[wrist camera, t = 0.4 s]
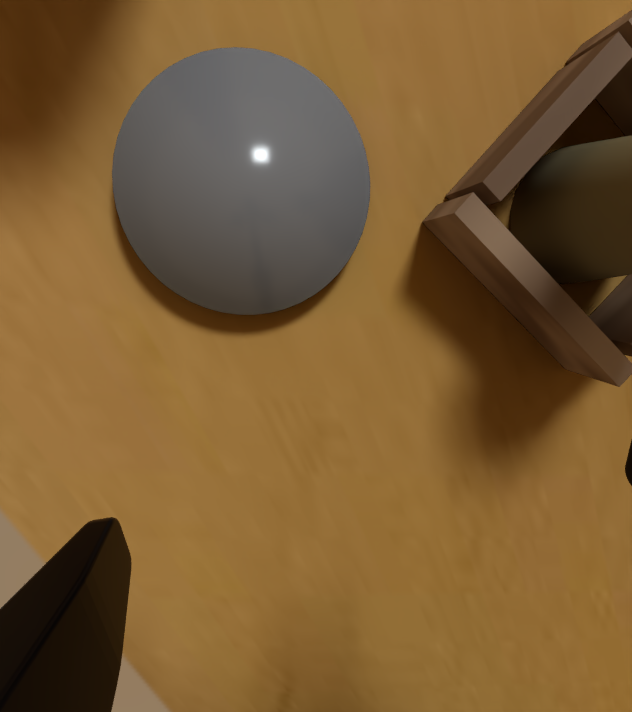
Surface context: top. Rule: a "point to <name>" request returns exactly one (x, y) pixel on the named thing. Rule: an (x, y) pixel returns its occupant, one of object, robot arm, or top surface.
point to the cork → (578, 211)
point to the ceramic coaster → (241, 181)
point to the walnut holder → (505, 253)
